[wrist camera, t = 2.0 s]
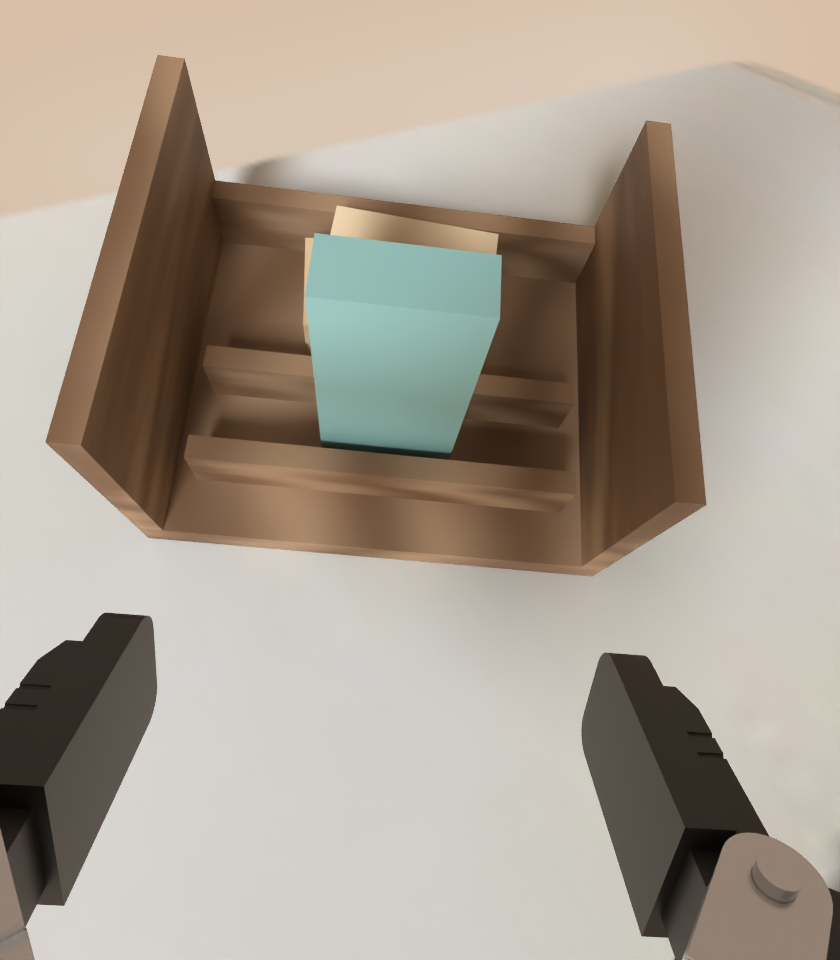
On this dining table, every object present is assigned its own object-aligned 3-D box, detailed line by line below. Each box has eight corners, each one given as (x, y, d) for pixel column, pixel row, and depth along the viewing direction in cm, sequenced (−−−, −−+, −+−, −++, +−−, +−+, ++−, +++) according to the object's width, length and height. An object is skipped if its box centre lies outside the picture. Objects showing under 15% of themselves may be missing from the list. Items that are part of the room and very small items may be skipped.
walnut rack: (584, 287, 36) (670, 123, 26) (592, 576, 30) (706, 504, 21) (212, 243, 35) (157, 55, 25) (148, 537, 29) (45, 441, 19)
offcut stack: (480, 285, 34) (498, 222, 30) (476, 378, 32) (495, 325, 28) (311, 265, 33) (305, 198, 29) (297, 359, 31) (288, 302, 27)
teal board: (447, 426, 31) (501, 255, 20) (444, 470, 30) (500, 318, 19) (328, 414, 30) (314, 233, 19) (322, 459, 30) (305, 296, 18)
